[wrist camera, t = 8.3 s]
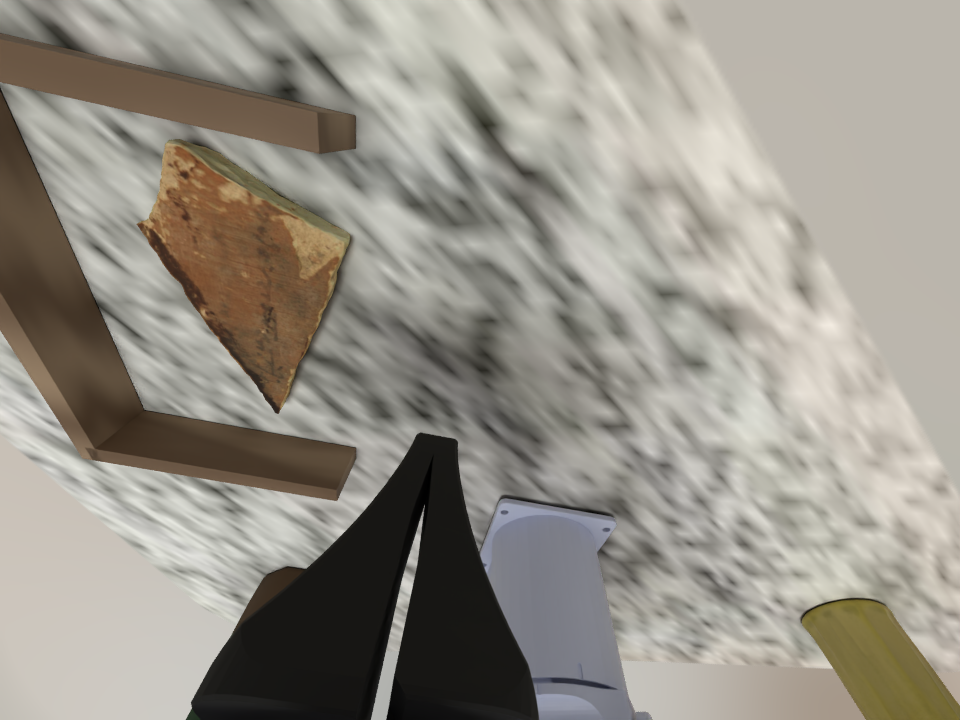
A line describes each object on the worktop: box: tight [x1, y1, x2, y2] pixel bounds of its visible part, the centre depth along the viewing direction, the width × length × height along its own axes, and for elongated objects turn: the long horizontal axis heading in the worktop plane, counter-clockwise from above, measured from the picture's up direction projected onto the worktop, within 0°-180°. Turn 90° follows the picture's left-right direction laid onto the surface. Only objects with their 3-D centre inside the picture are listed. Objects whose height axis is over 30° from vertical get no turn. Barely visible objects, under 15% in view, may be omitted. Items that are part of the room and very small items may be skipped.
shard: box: [137, 139, 350, 414], centre depth 16 cm, size 11×8×2 cm
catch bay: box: [0, 33, 356, 501], centre depth 16 cm, size 18×14×3 cm
